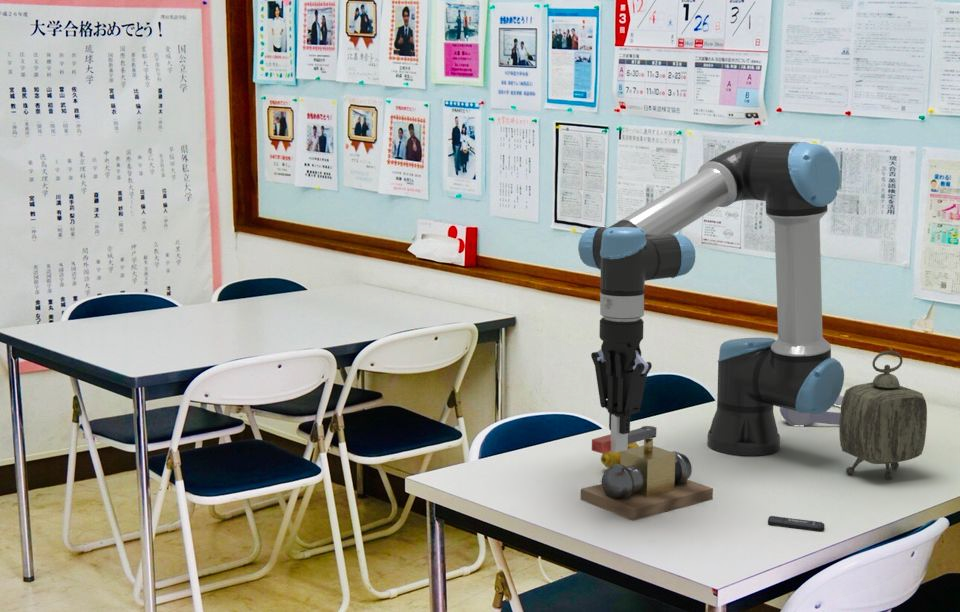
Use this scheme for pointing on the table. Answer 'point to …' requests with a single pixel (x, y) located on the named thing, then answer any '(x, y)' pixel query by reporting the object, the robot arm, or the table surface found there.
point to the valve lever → (635, 435)
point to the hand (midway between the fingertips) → (619, 450)
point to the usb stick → (796, 523)
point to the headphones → (811, 416)
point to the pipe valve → (646, 472)
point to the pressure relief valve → (614, 456)
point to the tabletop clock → (883, 421)
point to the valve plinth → (648, 500)
